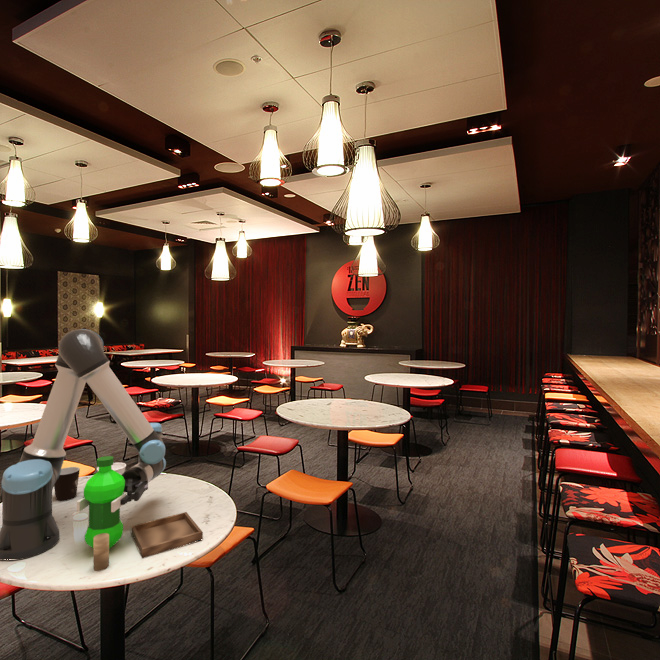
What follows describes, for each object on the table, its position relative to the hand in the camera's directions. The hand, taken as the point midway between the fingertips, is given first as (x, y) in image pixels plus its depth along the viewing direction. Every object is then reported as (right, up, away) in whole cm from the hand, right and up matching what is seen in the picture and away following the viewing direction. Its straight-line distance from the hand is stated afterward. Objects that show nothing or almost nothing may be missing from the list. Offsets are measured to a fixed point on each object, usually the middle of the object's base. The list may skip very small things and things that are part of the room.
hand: (95, 506), depth 113 cm
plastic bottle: (0, -13, +4) cm, 14 cm away
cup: (-18, -14, +42) cm, 48 cm away
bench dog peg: (+4, -14, -5) cm, 15 cm away
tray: (+15, -14, +11) cm, 23 cm away
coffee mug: (-34, -14, +42) cm, 56 cm away
